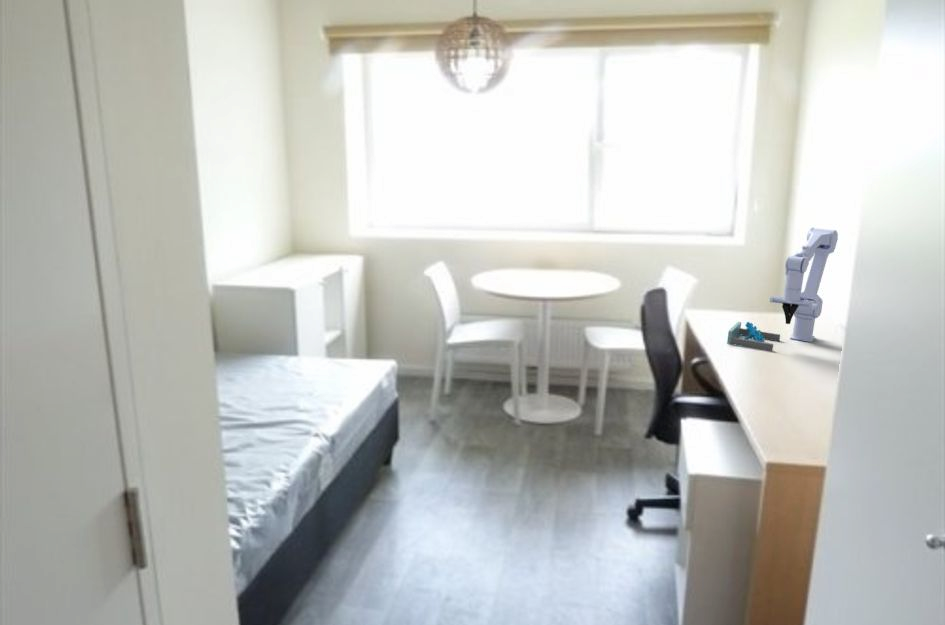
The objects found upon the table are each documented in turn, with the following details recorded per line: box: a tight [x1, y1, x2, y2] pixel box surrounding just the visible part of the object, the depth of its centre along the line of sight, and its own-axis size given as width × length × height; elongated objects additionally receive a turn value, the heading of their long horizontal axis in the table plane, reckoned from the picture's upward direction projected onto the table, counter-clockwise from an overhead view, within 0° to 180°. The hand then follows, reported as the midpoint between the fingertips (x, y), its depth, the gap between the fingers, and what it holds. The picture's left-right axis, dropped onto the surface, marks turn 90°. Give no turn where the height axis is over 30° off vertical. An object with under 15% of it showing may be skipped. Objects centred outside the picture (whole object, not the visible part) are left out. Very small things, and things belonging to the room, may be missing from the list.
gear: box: [743, 321, 765, 343], centre depth 270 cm, size 11×6×10 cm
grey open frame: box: [726, 321, 781, 352], centre depth 269 cm, size 18×16×5 cm
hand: (787, 323), depth 262 cm, fingers closed
